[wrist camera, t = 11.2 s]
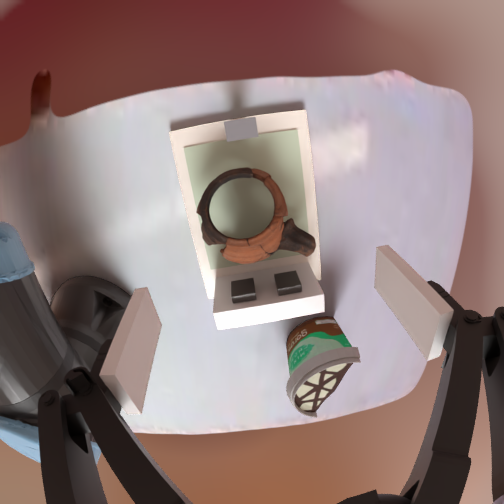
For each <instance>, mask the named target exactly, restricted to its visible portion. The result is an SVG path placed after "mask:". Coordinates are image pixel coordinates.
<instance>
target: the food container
mask: <svg viewBox="0 0 504 504" xmlns="http://www.w3.org/2000/svg"><path fill="white" fill-rule="evenodd" d="M286 346H287V356H288V364H289V373H290V378H289V380H288V382H287V386H286V391H287V395H288V397H289V399H290V401H291V403H292V405H293V406H294V407H295V408H296V409H297V410H298V411H299V412H300V413H302V414H303V415H306V416H310V417H317V414H316V410H317V409H318V408H319V407H320V405H321V404H322V403H323V402H324V400H325V399H326V398H328V397H329V396H330V395H331V394H332V393H333V392H334V391H335V390H336V388H337V386H338V385H339V383H340V381H341V380H342V378H343V376H344V375H345V373H346V372H347V371H348V369H349V368H350V366H351V365H352V364H353V363H354V362H355V363H361V362H360V359H359V358H360V355H359V351H358V347H352V346H351V344H350V343H349V341H348V340H347V338H346V336H345V335H344V333H343V331H342V330H341V328H340V327H339V325H338V323H337V322H336V320H335V319H334V317H327V316H325V317H316V318H313V319H310V320H307V321H305V322H303V323H302V324H300V325H299V326H297V327H296V328H295V329H294V330H293V331H292V332H291V333H290V335H289V337H288V339H287V343H286Z"/></svg>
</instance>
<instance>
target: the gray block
mask: <svg viewBox="0 0 504 504" xmlns="http://www.w3.org/2000/svg"><path fill="white" fill-rule="evenodd" d="M224 126H225V132H226V138H227V142H230V141H236V140H242V139H248V138H254V137H259V136H258V130H257V123H256V117H249V118H243V119H236V120H231V121H225V122H224Z"/></svg>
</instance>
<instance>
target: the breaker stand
mask: <svg viewBox="0 0 504 504" xmlns="http://www.w3.org/2000/svg"><path fill="white" fill-rule="evenodd" d="M249 117H256V123H257V130H258V136H259V137H254V138H248V139H242V140H236V141H230V142H227V138H226V132H225V126H224V122H225V121H231V120H236V119H243V118H249ZM169 135H170V140H171V145H172V150H173V155H174V160H175V165H176V169H177V174H178V178H179V183H180V187H181V192H182V196H183V201H184V205H185V209H186V213H187V218H188V222H189V226H190V230H191V234H192V238H193V242H194V246H195V250H196V254H197V258H198V262H199V266H200V269H201V273H202V277H203V281H204V284H205V288H206V292H207V295H208V299H210V298H214V306H213V315H214V318H215V322H216V325H217V329H218V330H222V329H229V328H236V327H242V326H248V325H255V324H261V323H267V322H273V321H278V320H284V319H289V318H295V317H300V316H305V315H311V314H316V313H321V312H325V309H324V293H323V291H322V289H321V287H320V285H319V283H318V281H317V280H321V264H320V247H319V231H318V218H317V205H316V194H315V183H314V173H313V163H312V154H311V146H310V137H309V130H308V122H307V114H306V110H297V111H287V112H278V113H270V114H262V115H255V116H248V117H242V118H235V119H229V120H224V121H218V122H213V123H208V124H203V125H198V126H193V127H188V128H184V129H179V130H175V131H171V132H169ZM245 167H249V168H251V169H253V168H255V169H259V170H262V171H264V172H267V173H268V174H270V175H271V178H272V179H273V180H274V181H275V182H276V183H277V185H278V186H279V188H280V190H281V192H282V194H283V196H284V198H285V202H286V205H287V210H288V216H285V217H283V222H286V221H287V220H288V219H290V218H292V219H293V220H294V223H295V225H296V226H297V227H298V228H300V229H302V230H304V231H305V232H307V233H309V234H310V235H312V236H313V237H314V238H315V242H316V248H315V251H314V253H312V254H311V255H310V256H308V257H306V256H304V255H302V254H300V253H298V252H293V251H288V250H277V251H276V252H275V253H274V254H273V255H271V256H270V257H268V258H266V259H264V260H261V261H258V262H255V263H251V264H240V263H234V262H232V261H229V260H227V259H225V258H224V257H223V256H222V253H221V252H220V250H221V249H224V248H225V246H226V245H225V244H217V245H211V246H209V245H207V244H206V243H205V241H204V240H203V238H202V231H201V224H202V219H201V216H200V215H199V214H198V213H196V211H197V207H198V204H199V202H200V200H201V197H202V195H203V193H204V191H205V189H206V188H207V186H208V185H209V183H211V182H212V181H213V180H214V179H216V178H217V176H219V175H220V174H222V173H223V172H226V171H228V170H231V169H237V168H245ZM273 213H274V200H273V197H272V195H271V193H270V191H269V190H268V189H267V187H266V186H265V185H264V183H263V182H262V181H260V180H258V179H255V178H237V179H233V180H231V181H228V182H227V183H225V184H223V185H222V186H220V187H219V188H218V189H217V191H216V192H215V193H214V195H213V197H212V199H211V202H210V208H209V214H210V218H211V220H212V222H213V224H214V226H215V227H216V228H217V230H218V231H220V232H221V233H222V234H224V235H226V236H227V237H232V238H237V239H243V238H250V237H253V236H255V235H257V234H259V233H261V232H262V231H263V230H264V229H265V228H266V227H267V226H268V225H269V223H270V222H271V220H272V218H273ZM295 270H296V272H297V274H298V277H299V279H300V282H301V284H302V292H297V293H292V294H286V295H281V296H279V295H278V292H277V288H276V284H275V280H274V274H278V273H283V272H289V271H295ZM248 278H253V279H254V284H255V291H256V298H257V300H251V301H245V302H239V303H233V302H232V298H231V281H236V280H242V279H248Z"/></svg>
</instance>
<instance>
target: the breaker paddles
mask: <svg viewBox="0 0 504 504" xmlns="http://www.w3.org/2000/svg"><path fill="white" fill-rule="evenodd" d="M274 280H275V284H276V288H277V292H278V295H279V296H281V295H286V294H292V293H297V292H302V284H301V282H300V279H299V277H298V274H297V272H296V270H295V271H289V272H283V273H278V274H274ZM231 298H232V302H233V303H239V302H245V301H251V300H257V298H256V291H255V284H254V279H253V278H248V279H242V280H236V281H231Z"/></svg>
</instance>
